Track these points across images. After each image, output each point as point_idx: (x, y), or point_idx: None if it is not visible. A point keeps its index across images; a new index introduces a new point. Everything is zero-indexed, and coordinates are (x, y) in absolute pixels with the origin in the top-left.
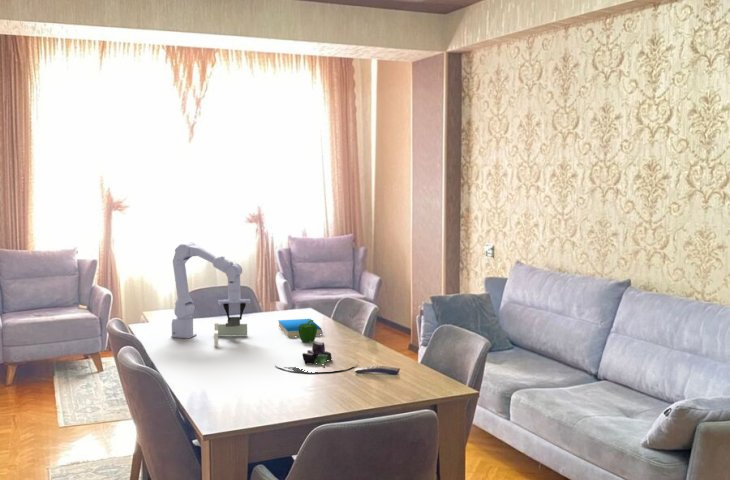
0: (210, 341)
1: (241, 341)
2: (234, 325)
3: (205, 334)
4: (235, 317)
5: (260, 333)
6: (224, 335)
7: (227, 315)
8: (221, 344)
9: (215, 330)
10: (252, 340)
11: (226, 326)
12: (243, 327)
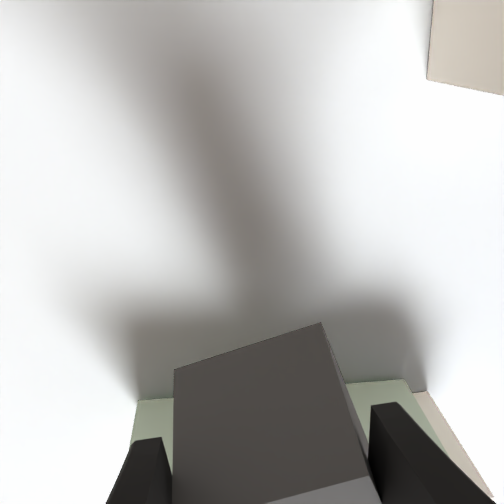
0: (493, 194)
1: (154, 179)
2: (260, 344)
3: (490, 434)
4: (259, 491)
5: (38, 477)
6: (348, 386)
7: (466, 480)
8: (389, 22)
9: (444, 432)
10: (32, 224)
11: (362, 428)
12: None
